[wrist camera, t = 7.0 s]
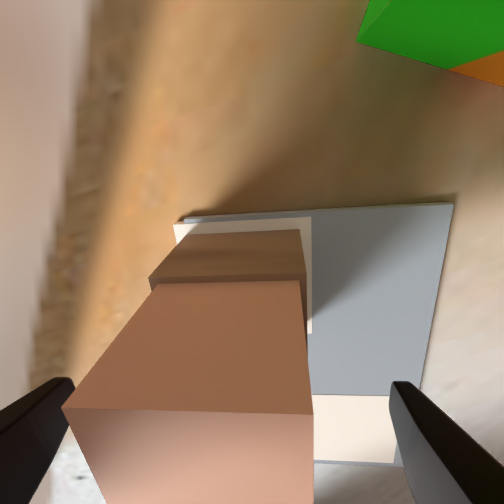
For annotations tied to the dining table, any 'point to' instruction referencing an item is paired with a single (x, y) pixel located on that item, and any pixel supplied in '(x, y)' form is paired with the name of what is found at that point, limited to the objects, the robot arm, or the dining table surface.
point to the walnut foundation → (237, 260)
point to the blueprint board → (358, 312)
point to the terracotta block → (202, 399)
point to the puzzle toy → (441, 34)
